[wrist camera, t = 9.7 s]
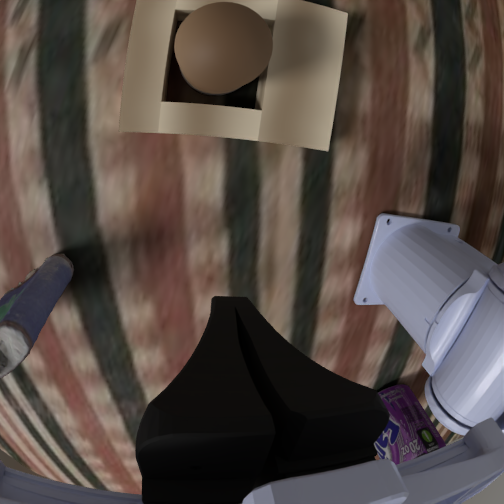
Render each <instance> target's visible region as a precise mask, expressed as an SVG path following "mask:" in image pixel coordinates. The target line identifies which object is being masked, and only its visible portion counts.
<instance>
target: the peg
mask: <svg viewBox="0 0 504 504" xmlns="http://www.w3.org/2000/svg"><path fill="white" fill-rule="evenodd" d="M174 49H175V55H176V59H177V61H178V64H179V67H180V71H181V73H182V76H183V77H184V79H185V80H186V82H187V83H188V85H189V86H190V87H191V88H192V89H194V90H195V91H197V92H199V93H201V94H204V95H208V96H220V95H224V94H228V93H231V92H233V91H235V90H237V89H239V88H240V87H242V86H243V85H245V84H247V83H249V82H251V81H252V80H254V79H255V78H257V77H258V76H259V75H260V74H261V73H262V72H263V71H264V69H265V68H266V67H267V65H268V63H269V61H270V58H271V56H272V51H273V39H272V35H271V32H270V29H269V27H268V25H267V23H266V22H265V21H264V19H263V18H262V17H261V16H260V15H259V14H258V13H256V12H255V11H254V10H252V9H250V8H249V7H246V6H244V5H241V4H238V3H233V2H216V3H211V4H207V5H205V6H202V7H200V8H198V9H196V10H195V11H193V12H192V13H191V14H189V15H188V16H187V17H186V18H185V19H184V21H183V22H182V23H181V25H180V27H179V29H178V31H177V34H176V37H175V44H174Z"/></svg>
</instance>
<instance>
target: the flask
mask: <svg viewBox="0 0 504 504" xmlns="http://www.w3.org/2000/svg"><path fill="white" fill-rule="evenodd" d="M44 261H45V262H44V263H43V264H42V266H40V267H39V268H37V269H34V270H33V271H32V272H30V273H29V274H28V275H27V277H26V279H25V282H23V283H20V282H19V284H18V286H17V287H16V288H12V289H11V290H9V291H7V293H5V294H4V296H3V297H2V298H1V300H0V378H3V377H4V376H6V375H7V374H9V373H10V372H12V371H13V370H14V369H15V368H16V367H17V366H18V365H19V364H20V363H21V362H22V361H23V360H24V359H25V358H26V357H27V356H28V354H30V350H31V349H32V347H33V345H34V343H35V341H36V340H37V338H38V335H39V333H40V331H41V329H42V327H43V326H44V324H45V322H46V320H47V318H48V316H49V314H50V313H51V311H52V310H53V308H54V306H55V304H56V302H57V300H58V299H59V297H60V296H61V295H62V293H63V291H64V289H65V287H66V286H67V285H68V283H69V282H70V281H71V278H72V276H73V271H74V268H73V264H72V262H71V261H70V260H69V259H68V258H67V257H66V256H65V255H64V254H55V255H52V256H51V257H49V258H46V259H45V260H44ZM70 262H71V263H70ZM71 265H72V267H71Z"/></svg>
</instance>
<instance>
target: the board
mask: <svg viewBox="0 0 504 504" xmlns="http://www.w3.org/2000/svg"><path fill="white" fill-rule="evenodd" d="M216 2H233V3H238V4H241V5H244V6H246V7H249V8H250V9H252V10H254V11H255V12H256V13H258V14H259V15H260V16H261V17H262V18H263V19H264V21H265V22H266V23H267V25H268V27H269V29H270V32H271V35H272V39H273V51H272V56H271V58H270V61H269V63H268V65H267V67H266V68H265V69H264V71H263V72H262V73H261V74H260V75H259V81H258V88H257V95H256V102H255V109H246V108H238V107H229V106H219V105H208V104H195V103H179V102H166V96H167V87H168V79H169V72H170V65H171V58H172V51H173V45H174V38H175V32H176V27H177V21H184V19H185V18H186V17H187V16H188V15H189V14H191V13H192V12H193V11H195V10H196V9H198V8H200V7H202V6H205V5H207V4H211V3H216ZM347 17H348V13H345V12H342V11H339V10H336V9H332V8H329V7H325V6H322V5H318V4H314V3H310V2H307V1H303V0H137V2H136V6H135V11H134V16H133V22H132V27H131V32H130V38H129V44H128V51H127V57H126V64H125V72H124V80H123V88H122V98H121V108H120V120H119V132H148V133H171V134H188V135H203V136H215V137H226V138H236V139H245V140H254V141H263V142H271V143H278V144H285V145H292V146H299V147H305V148H312V149H318V150H324V151H328V149H329V143H330V138H331V132H332V126H333V120H334V113H335V107H336V100H337V94H338V87H339V80H340V73H341V66H342V59H343V51H344V43H345V35H346V26H347Z"/></svg>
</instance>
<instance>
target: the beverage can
mask: <svg viewBox="0 0 504 504" xmlns="http://www.w3.org/2000/svg"><path fill="white" fill-rule="evenodd" d="M378 394H379V396H380V397H381V399H382V400H383V402H384V404H385V406H386V408H387V409H388V412H389V414H390V418H389V422H388V424H387V426H386V428H385V429H384V431H383V432H382V434H381V435H380V436H379V438H378V439H377V441H376V442H375V443H374V446H375V448H376V450H377V453H378V455H379V457H380V460H381V459H388V460H391V461H392V462H394V463H395V465H397V464H400V463H403V462H406V461H409V460H412V459H415V458H417V457H420V456H423V455H425V454H428V453H431V452H433V451H436V450H438V449H440V448H443V447H445V446H446V444H445V442H444V441H443V439H442V437H441V436H440V434H439V433H438V431H437V429H436V428H435V426H434V425H433V423H432V421H431V420H430V418H429V417H428V415H427V414H426V412H425V410H424V409H423V407H422V406H421V404H420V403H419V401H418V400H417V398H416V397H415V395H414V394H413V392H412V391H411V389H410V388H409V386H407V385H395V386H392V387H389V388H386V389H384V390H382V391H380V392H378Z"/></svg>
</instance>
